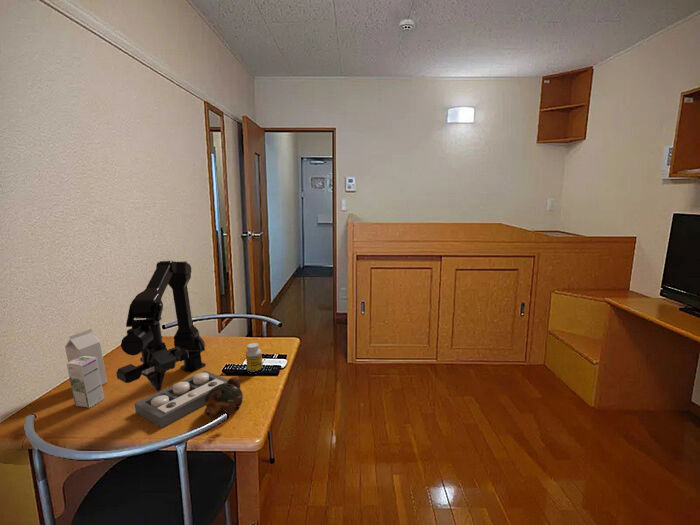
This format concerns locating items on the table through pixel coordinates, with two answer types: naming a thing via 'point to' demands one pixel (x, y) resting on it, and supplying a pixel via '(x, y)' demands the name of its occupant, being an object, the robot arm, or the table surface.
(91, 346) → the milk carton
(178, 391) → the button
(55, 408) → the table surface
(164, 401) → the button
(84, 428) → the table surface
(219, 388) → the decorative turtle
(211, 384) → the board
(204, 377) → the button
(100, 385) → the syrup box
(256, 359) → the supplement bottle
